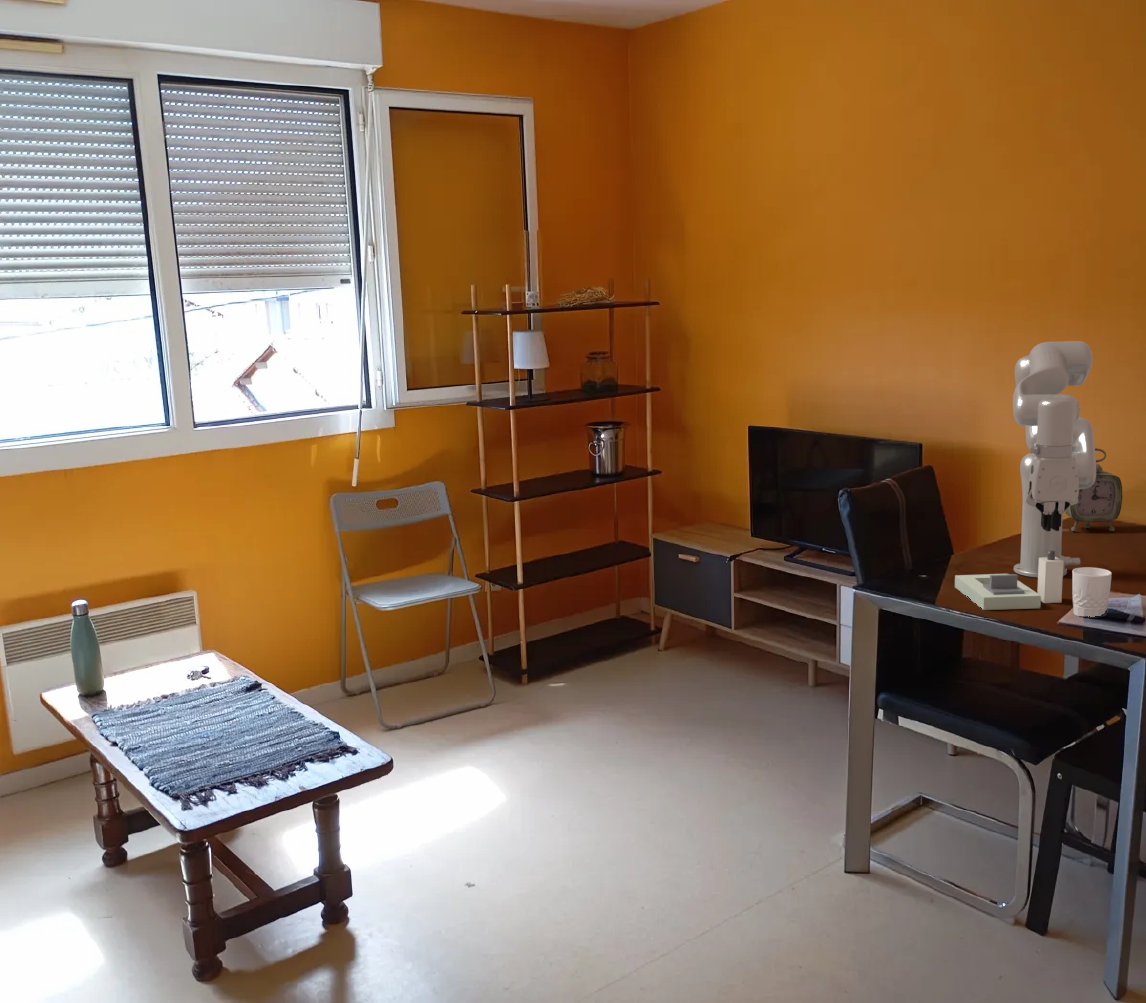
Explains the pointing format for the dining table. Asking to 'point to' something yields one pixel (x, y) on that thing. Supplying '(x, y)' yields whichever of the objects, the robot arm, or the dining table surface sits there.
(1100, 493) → the tabletop clock
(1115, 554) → the dining table surface
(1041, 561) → the plug
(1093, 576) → the white cup
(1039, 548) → the robot arm
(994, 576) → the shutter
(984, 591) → the socket board
